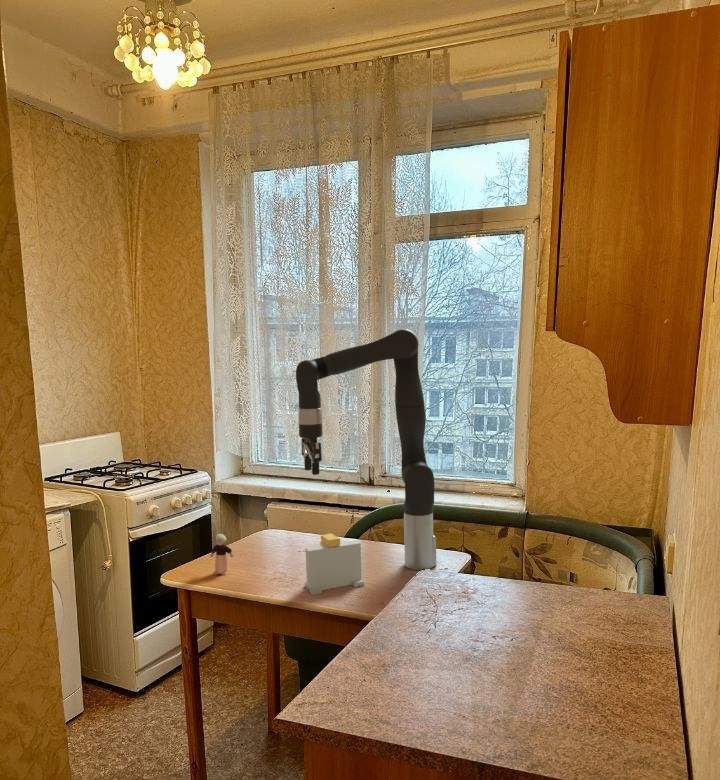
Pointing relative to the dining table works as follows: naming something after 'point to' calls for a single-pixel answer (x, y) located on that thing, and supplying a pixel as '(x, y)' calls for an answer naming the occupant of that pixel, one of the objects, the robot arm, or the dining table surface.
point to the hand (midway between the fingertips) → (311, 472)
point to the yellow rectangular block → (329, 540)
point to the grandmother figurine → (221, 555)
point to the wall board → (333, 567)
